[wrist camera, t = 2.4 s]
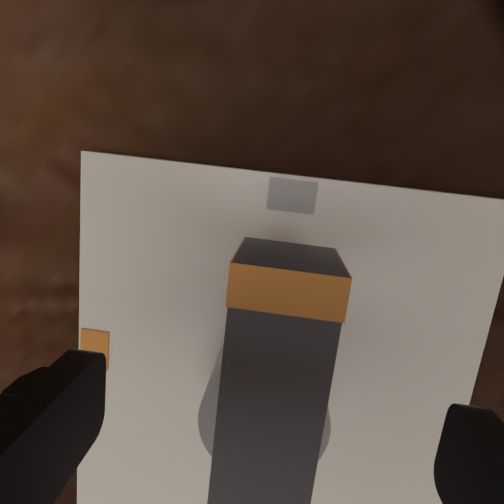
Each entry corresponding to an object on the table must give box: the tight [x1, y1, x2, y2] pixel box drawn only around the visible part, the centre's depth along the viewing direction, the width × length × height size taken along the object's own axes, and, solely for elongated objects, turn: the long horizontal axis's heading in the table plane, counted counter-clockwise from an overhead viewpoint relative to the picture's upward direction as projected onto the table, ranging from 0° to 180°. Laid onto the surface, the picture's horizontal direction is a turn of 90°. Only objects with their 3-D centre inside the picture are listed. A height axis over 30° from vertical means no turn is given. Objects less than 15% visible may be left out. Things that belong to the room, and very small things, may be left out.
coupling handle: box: [207, 237, 352, 504], centre depth 14 cm, size 10×3×6 cm, turn 174°
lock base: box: [77, 151, 504, 504], centre depth 21 cm, size 22×22×6 cm
